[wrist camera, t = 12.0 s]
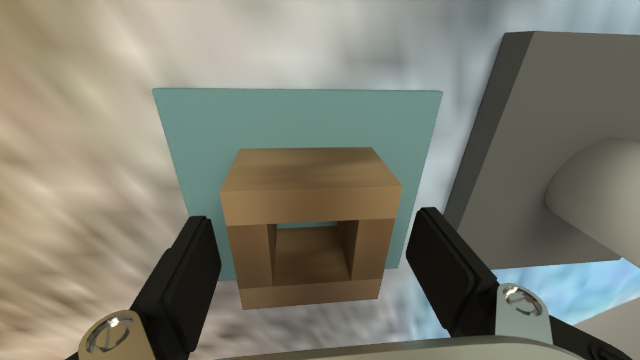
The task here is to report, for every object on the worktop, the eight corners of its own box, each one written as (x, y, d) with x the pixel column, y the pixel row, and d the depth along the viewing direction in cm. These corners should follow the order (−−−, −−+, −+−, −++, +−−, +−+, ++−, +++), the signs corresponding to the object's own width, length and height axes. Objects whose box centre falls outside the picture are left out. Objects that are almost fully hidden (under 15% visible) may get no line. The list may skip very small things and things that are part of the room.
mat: (438, 90, 12) (443, 91, 12) (395, 263, 18) (397, 267, 17) (156, 87, 10) (151, 89, 10) (210, 276, 16) (208, 281, 16)
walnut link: (371, 146, 12) (402, 185, 9) (358, 242, 16) (377, 298, 12) (239, 148, 12) (219, 191, 8) (253, 248, 15) (243, 309, 12)
